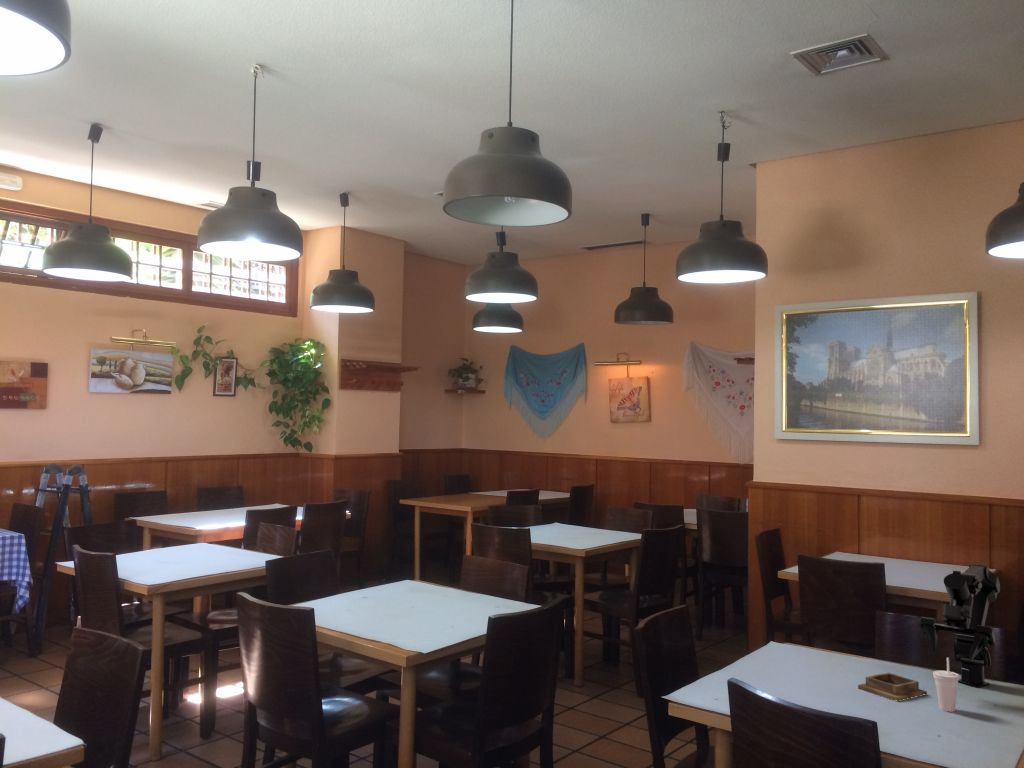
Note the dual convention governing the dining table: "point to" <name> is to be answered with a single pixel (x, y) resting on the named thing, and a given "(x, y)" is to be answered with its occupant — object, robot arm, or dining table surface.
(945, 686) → the smoothie
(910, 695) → the bottle stand
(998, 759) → the dining table surface
